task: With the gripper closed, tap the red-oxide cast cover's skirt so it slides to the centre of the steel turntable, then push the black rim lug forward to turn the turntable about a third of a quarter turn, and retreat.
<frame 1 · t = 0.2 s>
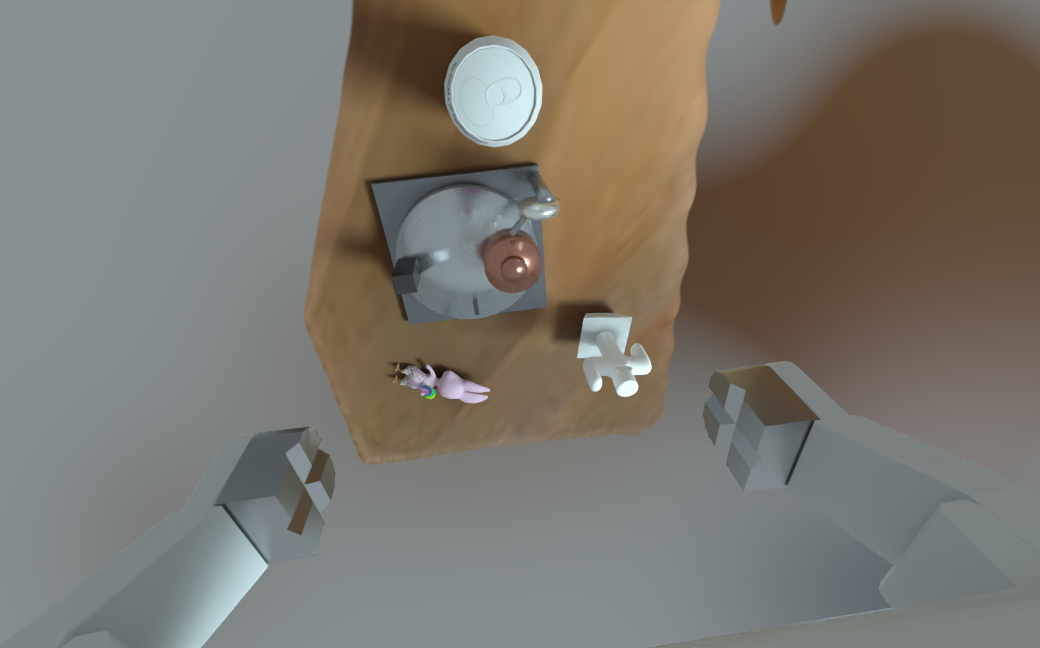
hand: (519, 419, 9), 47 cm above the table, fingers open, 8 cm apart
rabbit figure: (443, 375, 68), on the table
figurine: (597, 324, 66), on the table
plinth: (468, 249, 57), on the table
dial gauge: (533, 176, 53), resting on plinth
cover: (510, 254, 54), point 3 cm above the table, touching turntable
supplement can: (487, 83, 47), on the table
turntable: (468, 264, 53), point 5 cm above the table, hinge at 0.0°, touching cover
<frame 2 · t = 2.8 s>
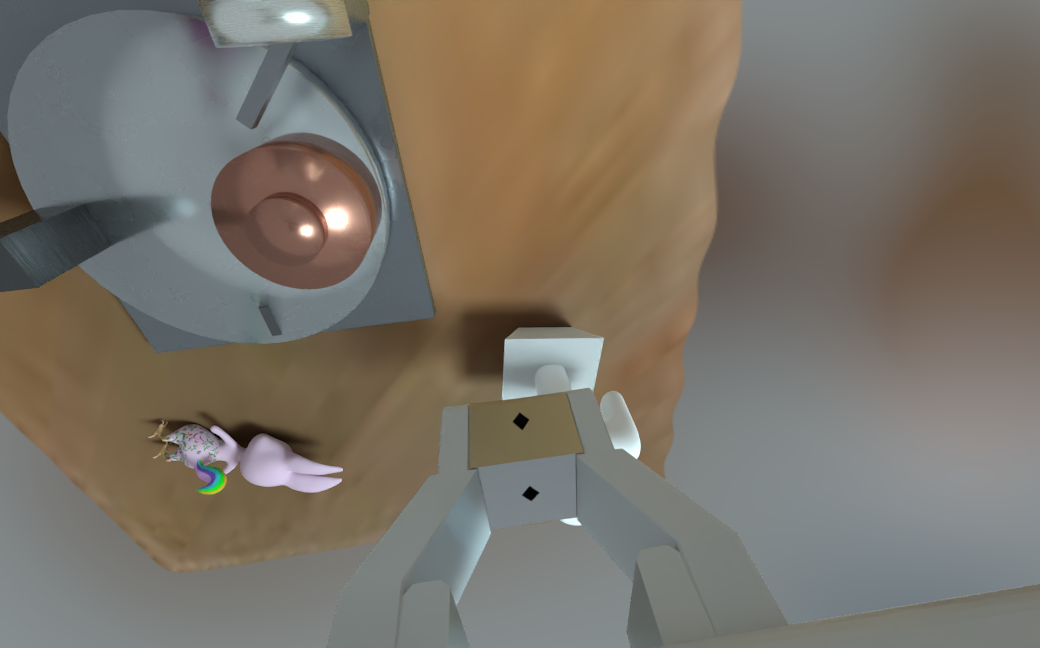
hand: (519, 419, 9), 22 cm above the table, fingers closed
rabbit figure: (262, 438, 38), on the table
figurine: (542, 347, 35), on the table
plinth: (242, 194, 26), on the table
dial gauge: (356, 9, 22), resting on plinth
cover: (317, 200, 24), point 3 cm above the table, touching turntable
turntable: (202, 220, 22), point 5 cm above the table, hinge at 0.0°, touching cover
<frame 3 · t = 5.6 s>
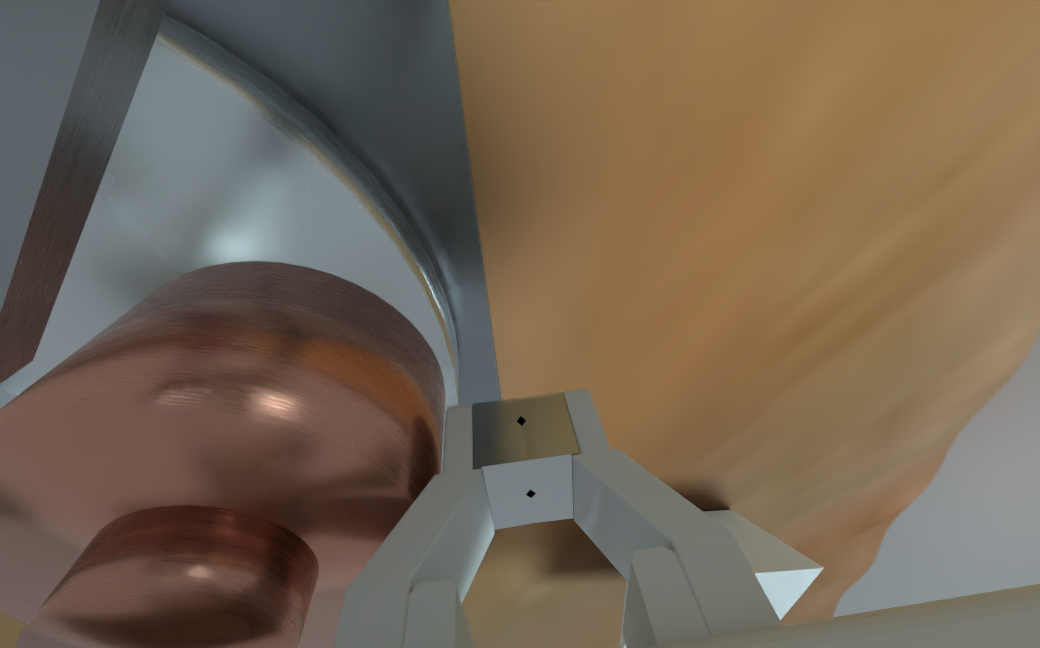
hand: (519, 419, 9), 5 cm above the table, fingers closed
figurine: (676, 534, 22), on the table
plinth: (154, 343, 13), on the table
cover: (296, 396, 10), point 3 cm above the table, touching gripper
turntable: (7, 479, 9), point 5 cm above the table, hinge at 0.0°
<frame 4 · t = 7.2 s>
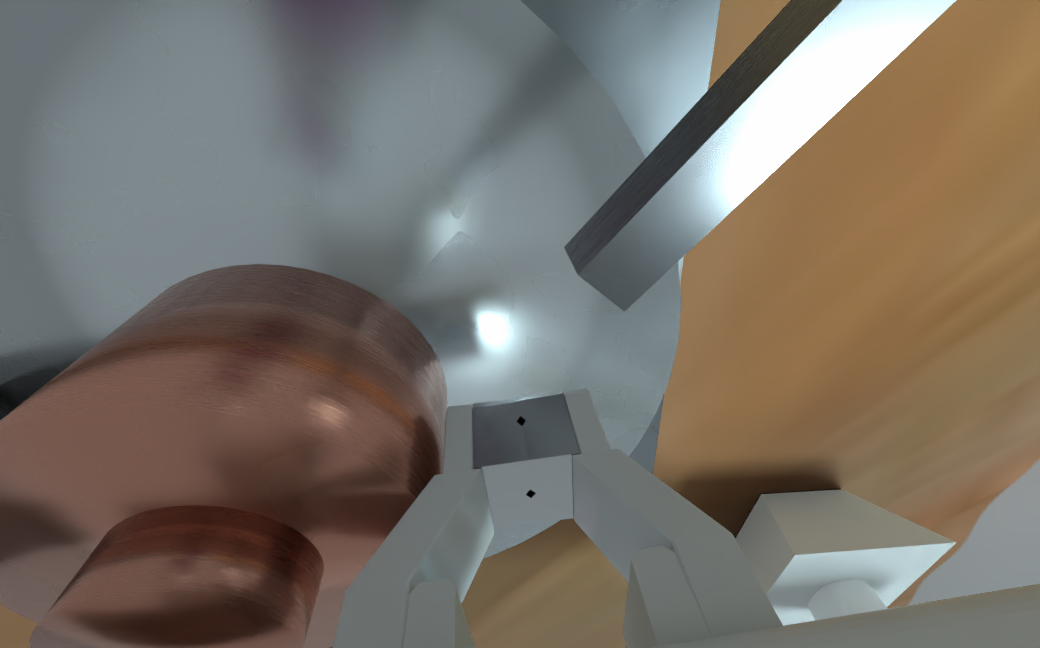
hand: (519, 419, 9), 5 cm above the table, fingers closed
figurine: (782, 514, 22), on the table
plinth: (344, 317, 13), on the table
cover: (300, 397, 10), point 3 cm above the table, touching gripper, turntable
turntable: (288, 437, 9), point 5 cm above the table, hinge at 0.0°, touching cover
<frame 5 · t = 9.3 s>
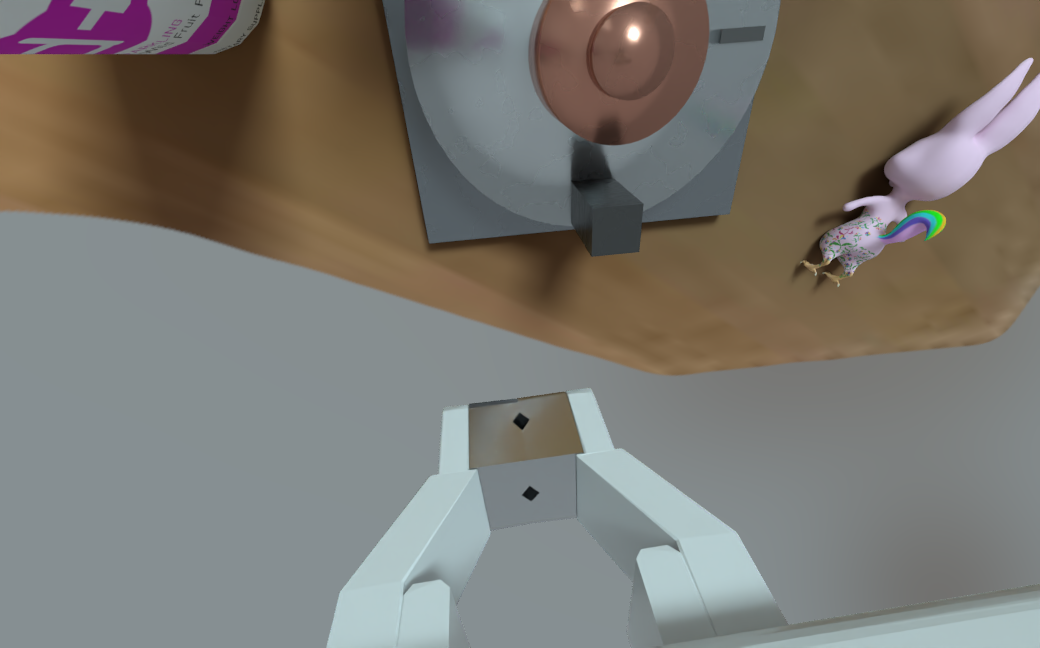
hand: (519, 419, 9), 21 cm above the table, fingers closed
rabbit figure: (885, 178, 29), on the table
plinth: (580, 46, 23), on the table
cover: (599, 53, 21), point 3 cm above the table, touching turntable
turntable: (604, 45, 19), point 5 cm above the table, hinge at 0.0°, touching cover
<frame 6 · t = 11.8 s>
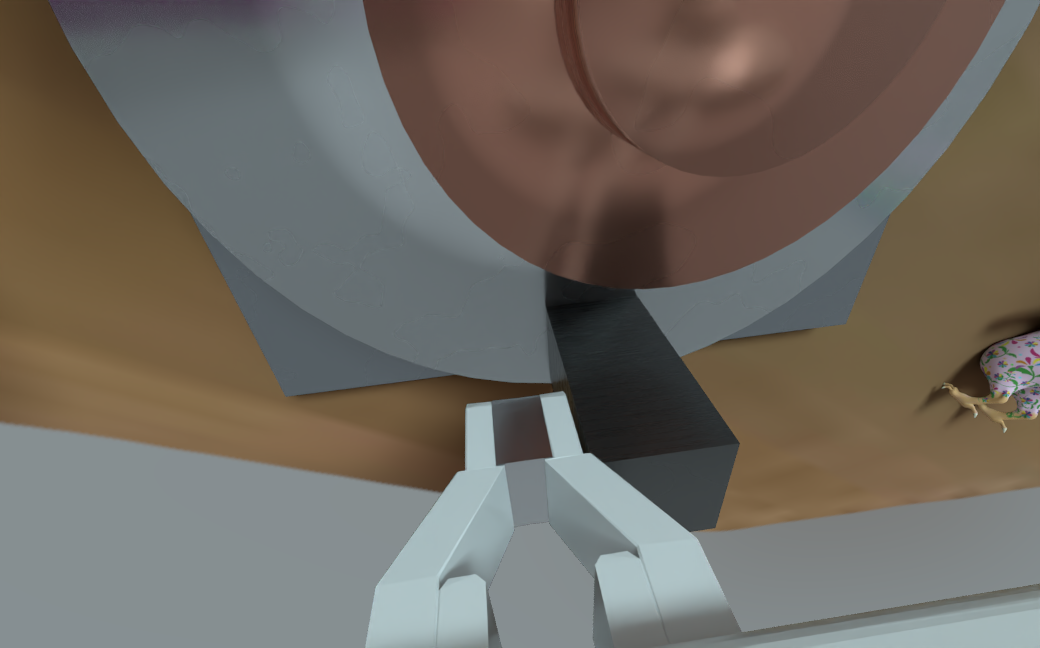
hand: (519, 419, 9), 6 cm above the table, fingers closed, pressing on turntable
plinth: (559, 10, 10), on the table
cover: (603, 16, 8), point 3 cm above the table, touching turntable
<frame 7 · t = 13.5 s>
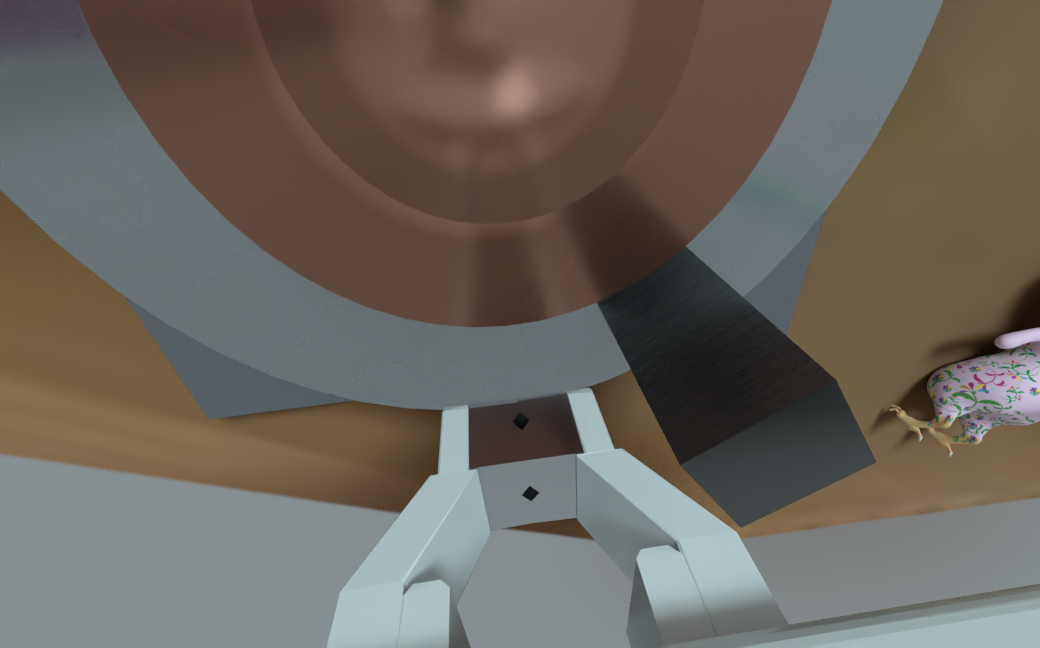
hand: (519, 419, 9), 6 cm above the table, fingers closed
plinth: (458, 32, 10), on the table
cover: (476, 33, 7), point 3 cm above the table, touching turntable
turntable: (451, 18, 6), point 5 cm above the table, hinge at 34.5°, touching cover
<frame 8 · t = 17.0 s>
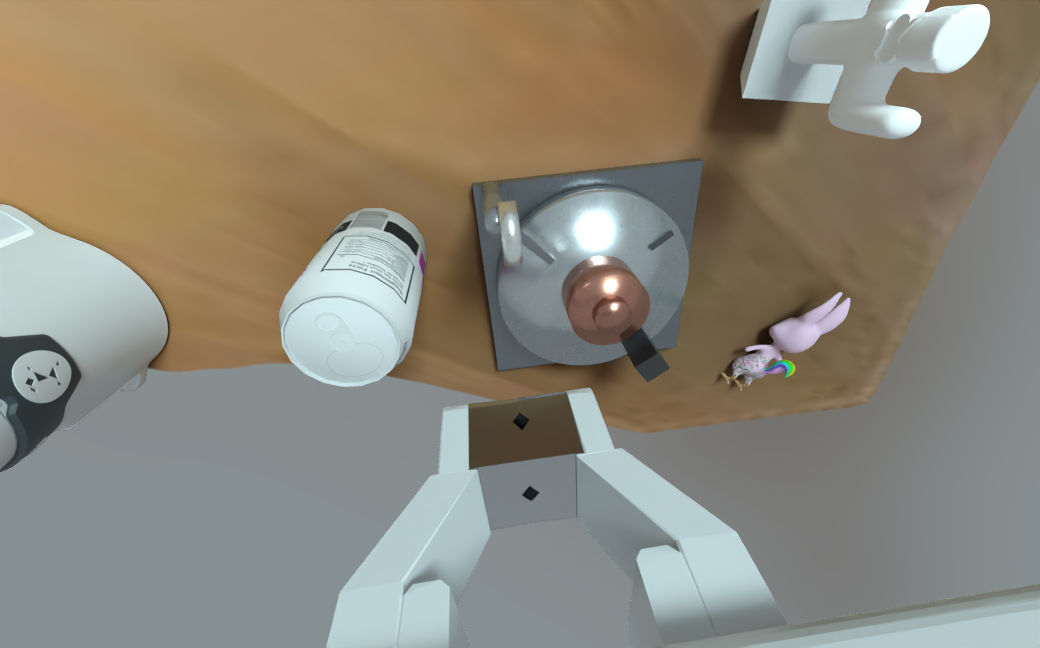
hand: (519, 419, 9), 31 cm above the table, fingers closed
rabbit figure: (772, 332, 50), on the table
figurine: (773, 44, 33), on the table
plinth: (586, 273, 42), on the table
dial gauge: (490, 187, 37), resting on plinth
cover: (598, 290, 40), point 3 cm above the table, touching turntable
supplement can: (382, 248, 39), on the table
turntable: (598, 296, 38), point 5 cm above the table, hinge at 34.5°, touching cover
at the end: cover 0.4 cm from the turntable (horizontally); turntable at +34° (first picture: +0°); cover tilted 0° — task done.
